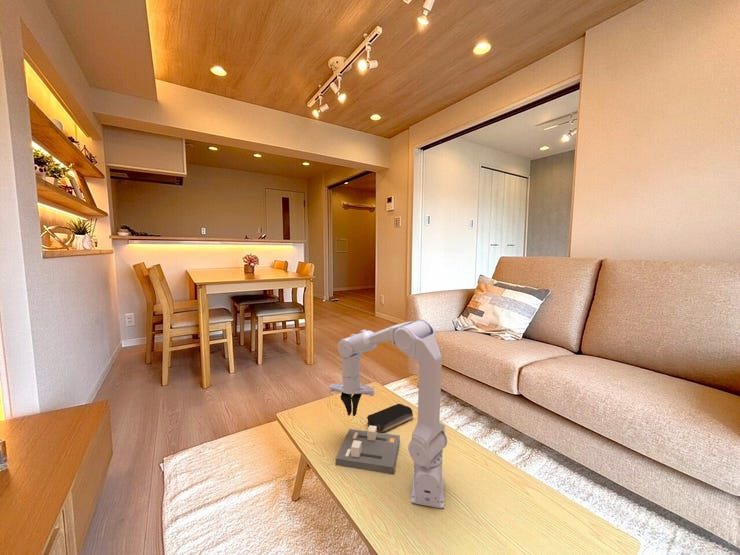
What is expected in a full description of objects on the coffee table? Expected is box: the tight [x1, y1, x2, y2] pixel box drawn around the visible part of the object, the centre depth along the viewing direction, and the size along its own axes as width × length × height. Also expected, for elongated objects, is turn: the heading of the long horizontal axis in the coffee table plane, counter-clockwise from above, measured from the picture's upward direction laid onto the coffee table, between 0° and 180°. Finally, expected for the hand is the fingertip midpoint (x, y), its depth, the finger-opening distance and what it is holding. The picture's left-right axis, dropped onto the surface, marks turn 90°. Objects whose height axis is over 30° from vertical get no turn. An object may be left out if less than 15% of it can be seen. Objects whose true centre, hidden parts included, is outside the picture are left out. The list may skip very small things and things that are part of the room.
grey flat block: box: [335, 428, 401, 475], centre depth 91 cm, size 14×17×2 cm
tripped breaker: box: [366, 424, 378, 441], centre depth 95 cm, size 3×2×3 cm
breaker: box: [351, 440, 362, 457], centre depth 88 cm, size 3×2×3 cm
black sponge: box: [366, 403, 414, 433], centre depth 107 cm, size 16×8×4 cm, turn 125°
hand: (352, 414), depth 95 cm, fingers closed
